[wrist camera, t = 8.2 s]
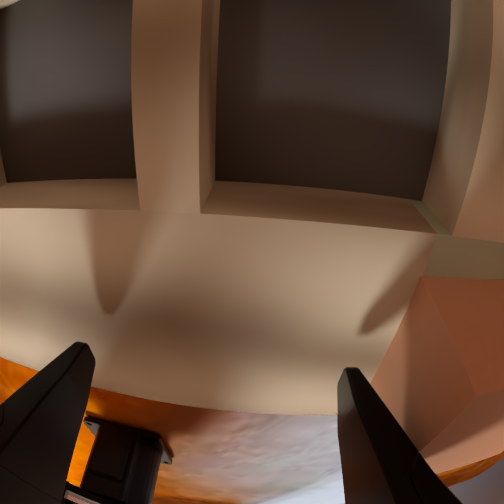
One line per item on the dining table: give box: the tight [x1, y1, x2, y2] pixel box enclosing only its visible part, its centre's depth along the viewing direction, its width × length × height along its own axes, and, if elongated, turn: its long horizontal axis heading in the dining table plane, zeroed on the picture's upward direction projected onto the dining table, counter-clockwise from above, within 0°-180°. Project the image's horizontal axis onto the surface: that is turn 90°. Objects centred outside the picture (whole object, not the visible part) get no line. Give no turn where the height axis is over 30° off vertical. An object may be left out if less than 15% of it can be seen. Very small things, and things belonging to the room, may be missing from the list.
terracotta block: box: [370, 276, 504, 474], centre depth 8 cm, size 6×6×4 cm
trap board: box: [0, 0, 504, 415], centre depth 8 cm, size 17×27×4 cm, turn 88°
